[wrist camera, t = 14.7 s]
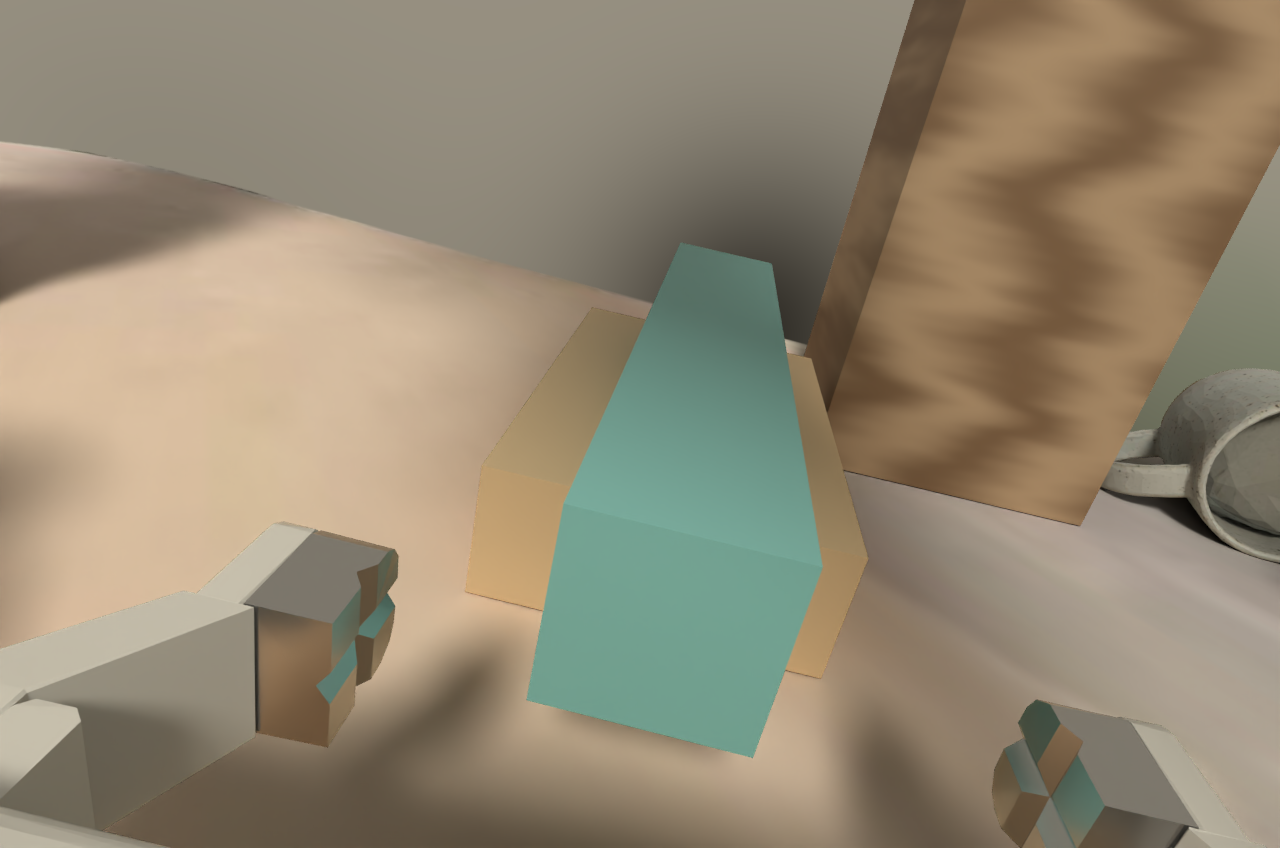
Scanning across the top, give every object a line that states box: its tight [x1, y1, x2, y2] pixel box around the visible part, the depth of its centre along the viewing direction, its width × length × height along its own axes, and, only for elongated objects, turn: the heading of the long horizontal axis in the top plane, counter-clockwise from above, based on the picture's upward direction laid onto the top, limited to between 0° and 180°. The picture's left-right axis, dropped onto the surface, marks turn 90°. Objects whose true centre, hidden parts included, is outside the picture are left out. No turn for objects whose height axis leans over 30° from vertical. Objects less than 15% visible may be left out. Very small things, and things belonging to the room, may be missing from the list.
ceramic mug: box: [1101, 368, 1280, 563], centre depth 36 cm, size 11×8×8 cm
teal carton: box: [527, 243, 823, 758], centre depth 22 cm, size 4×22×4 cm, turn 172°
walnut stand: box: [804, 0, 1280, 526], centre depth 32 cm, size 12×10×26 cm
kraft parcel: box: [465, 307, 868, 679], centre depth 27 cm, size 10×16×4 cm, turn 173°
